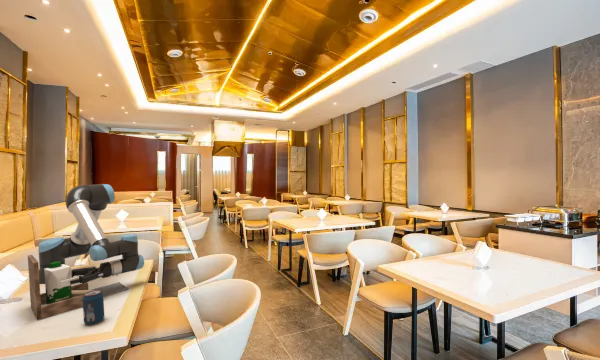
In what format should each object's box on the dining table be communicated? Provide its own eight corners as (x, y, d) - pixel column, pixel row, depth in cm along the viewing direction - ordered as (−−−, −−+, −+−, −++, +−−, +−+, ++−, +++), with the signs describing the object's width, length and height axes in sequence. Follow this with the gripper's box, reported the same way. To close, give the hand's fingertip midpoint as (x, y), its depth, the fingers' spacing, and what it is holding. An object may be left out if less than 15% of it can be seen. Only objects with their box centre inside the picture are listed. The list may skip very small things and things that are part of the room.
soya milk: (66, 300, 145) (64, 259, 144) (75, 304, 140) (72, 261, 140) (44, 307, 137) (41, 264, 137) (52, 312, 133) (49, 267, 132)
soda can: (102, 316, 127) (100, 287, 127) (106, 321, 123) (105, 292, 122) (82, 322, 122) (80, 293, 122) (86, 328, 118) (84, 297, 117)
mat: (119, 283, 166) (119, 282, 166) (128, 289, 156) (128, 288, 156) (88, 291, 155) (88, 290, 155) (96, 298, 146) (96, 297, 146)
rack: (87, 291, 155) (85, 245, 154) (98, 302, 141) (96, 251, 141) (30, 307, 139) (27, 255, 138) (37, 320, 125) (33, 263, 125)
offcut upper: (71, 295, 146) (71, 290, 146) (93, 294, 146) (93, 290, 146) (65, 298, 142) (64, 293, 142) (87, 298, 142) (87, 293, 142)
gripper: (118, 281, 145) (63, 296, 130) (103, 271, 162) (52, 283, 146) (118, 266, 145) (62, 278, 129) (102, 257, 162) (51, 267, 146)
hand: (57, 281), depth 138 cm, fingers open, 13 cm apart
